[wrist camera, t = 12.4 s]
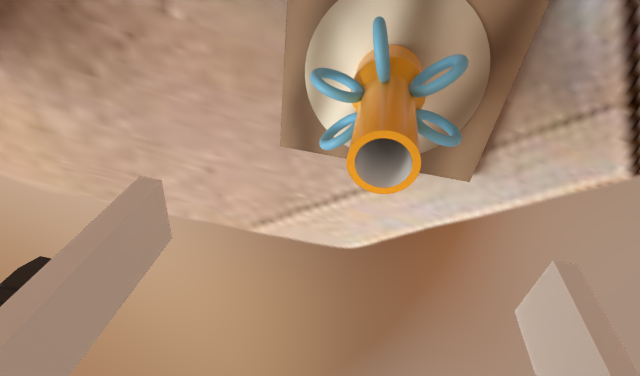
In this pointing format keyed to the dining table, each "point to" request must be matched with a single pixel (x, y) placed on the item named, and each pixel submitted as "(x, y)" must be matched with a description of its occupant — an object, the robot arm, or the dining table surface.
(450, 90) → the board
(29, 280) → the robot arm
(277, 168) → the dining table surface
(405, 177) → the cylinder
